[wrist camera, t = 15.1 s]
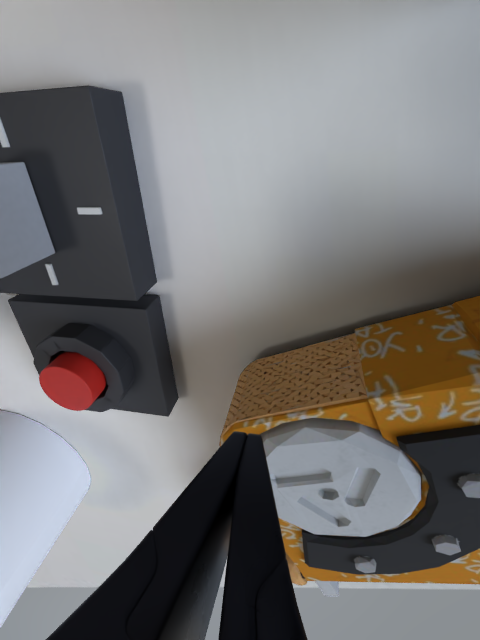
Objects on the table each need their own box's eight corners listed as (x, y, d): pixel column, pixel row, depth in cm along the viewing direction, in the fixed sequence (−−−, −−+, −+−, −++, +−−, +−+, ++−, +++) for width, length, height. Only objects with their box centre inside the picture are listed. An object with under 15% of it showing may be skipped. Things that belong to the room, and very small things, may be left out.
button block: (29, 287, 25) (-15, 311, 22) (159, 295, 23) (132, 323, 20) (68, 384, 30) (37, 416, 27) (178, 398, 28) (159, 434, 25)
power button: (48, 349, 23) (30, 364, 22) (98, 354, 22) (82, 370, 21) (66, 391, 25) (50, 407, 24) (112, 396, 24) (98, 414, 23)
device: (766, 660, 17) (255, 621, 28) (634, 505, 24) (267, 524, 35) (926, 297, 8) (102, 452, 20) (648, 221, 15) (158, 368, 27)
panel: (-44, 105, 19) (-102, 100, 17) (122, 91, 17) (86, 84, 14) (25, 275, 25) (-11, 293, 22) (157, 282, 23) (135, 302, 20)
